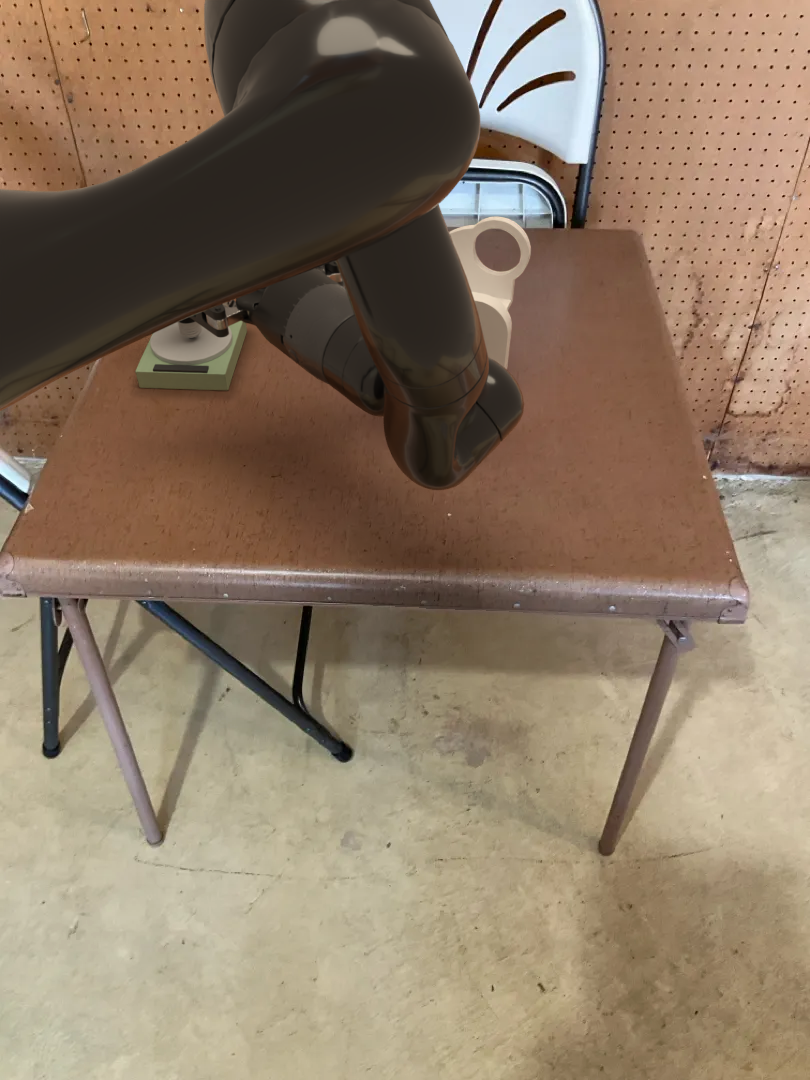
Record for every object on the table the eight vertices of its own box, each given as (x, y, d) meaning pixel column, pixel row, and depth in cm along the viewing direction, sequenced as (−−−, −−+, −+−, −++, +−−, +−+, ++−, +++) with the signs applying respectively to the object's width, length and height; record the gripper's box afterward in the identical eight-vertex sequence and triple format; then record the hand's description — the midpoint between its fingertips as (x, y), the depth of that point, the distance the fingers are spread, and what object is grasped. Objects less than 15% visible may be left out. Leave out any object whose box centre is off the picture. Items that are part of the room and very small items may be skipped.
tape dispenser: (422, 354, 99) (425, 204, 86) (529, 376, 96) (549, 224, 83) (378, 425, 90) (374, 270, 76) (495, 453, 87) (511, 296, 73)
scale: (228, 390, 94) (224, 369, 92) (139, 387, 94) (133, 366, 92) (247, 331, 102) (244, 310, 100) (165, 328, 102) (160, 308, 100)
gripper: (388, 260, 72) (280, 194, 80) (246, 317, 65) (145, 240, 74) (388, 336, 77) (287, 267, 86) (257, 396, 71) (162, 315, 79)
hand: (221, 254), depth 80 cm, fingers open, 8 cm apart
